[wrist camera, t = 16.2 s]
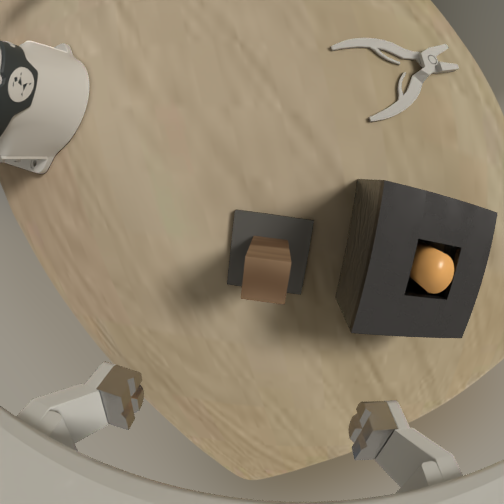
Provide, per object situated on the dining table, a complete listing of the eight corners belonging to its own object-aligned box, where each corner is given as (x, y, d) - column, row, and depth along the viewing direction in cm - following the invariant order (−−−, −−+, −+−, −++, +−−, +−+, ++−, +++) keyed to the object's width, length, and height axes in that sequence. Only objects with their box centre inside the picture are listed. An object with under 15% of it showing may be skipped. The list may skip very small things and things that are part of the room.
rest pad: (227, 282, 32) (227, 284, 31) (235, 209, 30) (235, 210, 29) (300, 292, 32) (300, 294, 31) (313, 220, 30) (313, 221, 29)
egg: (392, 269, 27) (416, 291, 22) (399, 235, 26) (427, 250, 21) (420, 273, 27) (447, 295, 21) (428, 241, 26) (458, 256, 20)
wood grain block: (253, 235, 30) (245, 256, 22) (287, 240, 30) (291, 262, 22) (249, 268, 31) (240, 298, 23) (282, 272, 31) (284, 304, 23)
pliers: (331, 41, 23) (433, 22, 21) (328, 47, 25) (428, 27, 22) (374, 122, 25) (471, 92, 23) (370, 124, 27) (464, 95, 24)
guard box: (335, 297, 31) (351, 332, 24) (357, 179, 28) (384, 180, 20) (430, 307, 31) (461, 338, 23) (455, 203, 27) (497, 212, 20)
